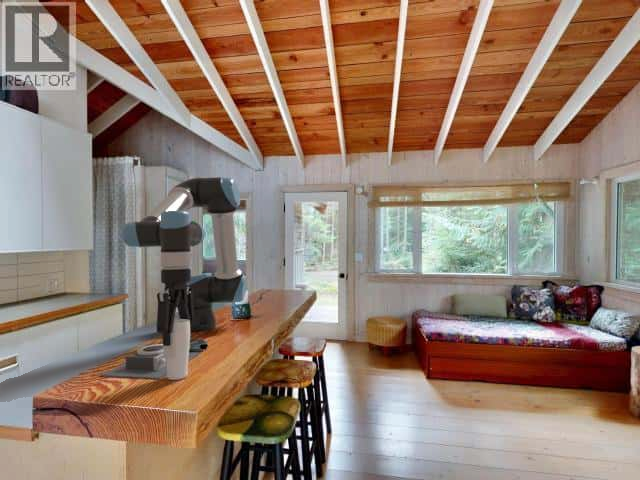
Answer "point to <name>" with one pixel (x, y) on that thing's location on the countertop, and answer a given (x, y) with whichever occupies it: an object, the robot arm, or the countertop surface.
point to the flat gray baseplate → (144, 364)
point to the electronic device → (196, 345)
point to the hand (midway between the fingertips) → (177, 352)
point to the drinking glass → (179, 350)
